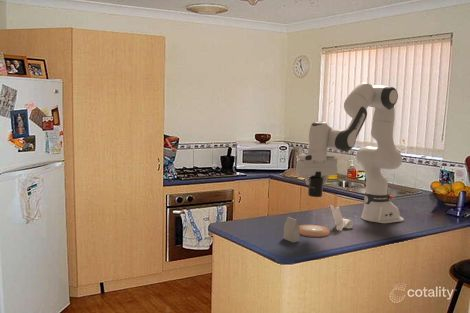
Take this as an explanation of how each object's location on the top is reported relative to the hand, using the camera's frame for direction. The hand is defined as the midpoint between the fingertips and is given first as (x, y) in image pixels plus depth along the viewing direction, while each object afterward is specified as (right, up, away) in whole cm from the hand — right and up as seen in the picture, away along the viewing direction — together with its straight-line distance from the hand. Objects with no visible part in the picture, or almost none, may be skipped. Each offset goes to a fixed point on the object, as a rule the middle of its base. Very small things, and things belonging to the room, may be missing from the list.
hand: (315, 184), depth 237 cm
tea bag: (-13, -25, -10) cm, 30 cm away
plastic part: (+15, -23, +13) cm, 30 cm away
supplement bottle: (0, -6, 0) cm, 6 cm away
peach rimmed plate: (-1, -23, +3) cm, 23 cm away
